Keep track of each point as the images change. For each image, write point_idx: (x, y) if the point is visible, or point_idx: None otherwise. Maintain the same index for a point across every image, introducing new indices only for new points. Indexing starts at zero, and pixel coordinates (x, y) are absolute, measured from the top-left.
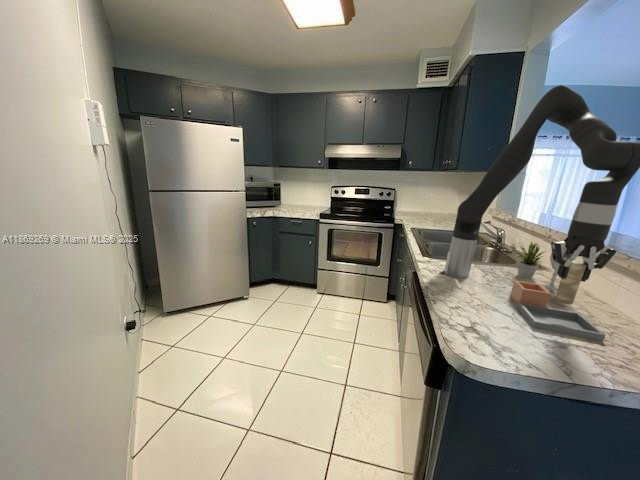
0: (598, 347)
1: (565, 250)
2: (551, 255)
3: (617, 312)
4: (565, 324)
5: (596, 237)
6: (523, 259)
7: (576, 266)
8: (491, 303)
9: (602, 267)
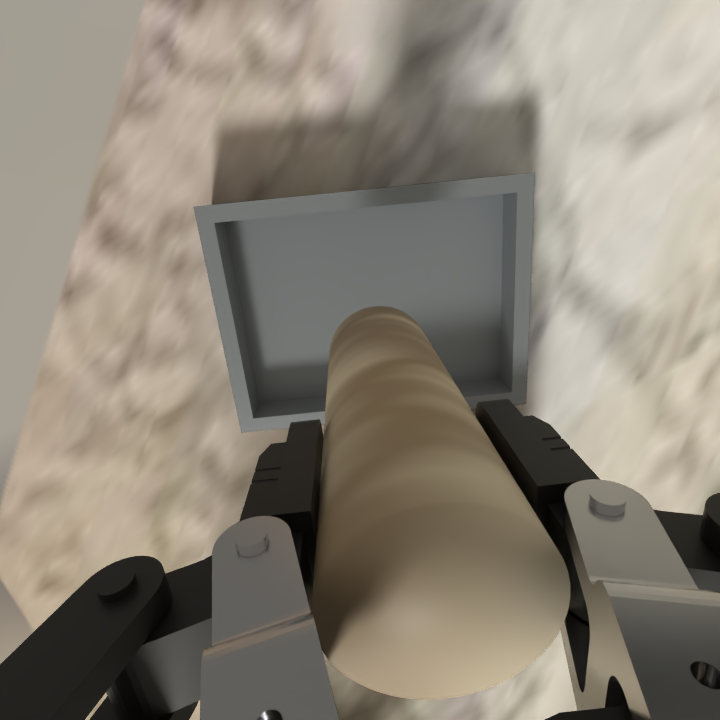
0: (237, 162)
1: None
2: None
3: (32, 601)
4: (328, 311)
5: None
6: None
7: (484, 484)
8: (609, 399)
9: (87, 583)
